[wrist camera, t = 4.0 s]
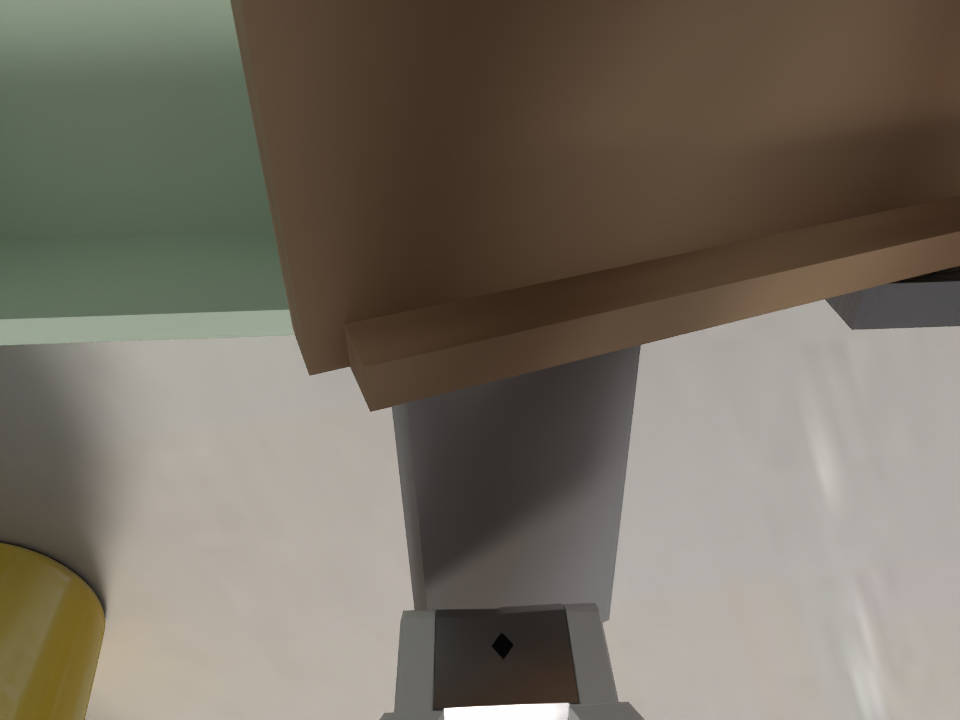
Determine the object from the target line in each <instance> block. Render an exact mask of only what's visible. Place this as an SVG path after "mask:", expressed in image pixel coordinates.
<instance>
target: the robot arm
mask: <svg viewBox="0 0 960 720" xmlns="http://www.w3.org/2000/svg"><path fill="white" fill-rule="evenodd" d="M380 720H644V719H643V717H642V716H641V715H640V714H639V713H638V712H637V711H636V710H635V709H634V708H633V706H632V705H631V704H630V703H629V702H618V697H617V692H616V687H615V682H614V677H613V672H612V668H611V663H610V658H609V653H608V648H607V643H606V639H605V634H604V629H603V624H602V619H601V614H600V610H599V608H598V606H597V604H596V603H578V604H564V605H563V604H562V603H560V604H543V605H526V606H509V607H499V608H496V609H444V610H411V611H403V614H402V618H401V623H400V637H399V651H398V665H397V679H396V694H395V708H394V712H391V713H384V714H383V716H382V717H381V719H380Z"/></svg>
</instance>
